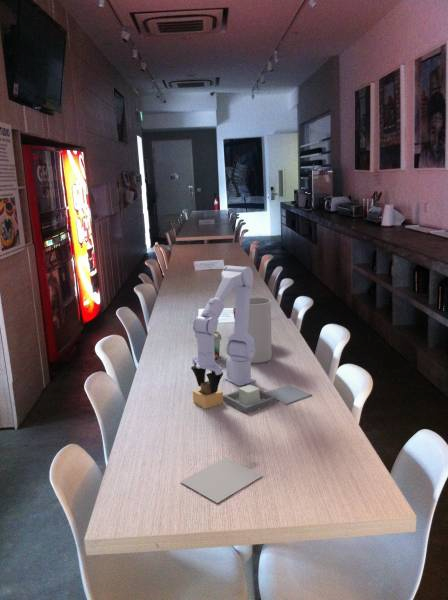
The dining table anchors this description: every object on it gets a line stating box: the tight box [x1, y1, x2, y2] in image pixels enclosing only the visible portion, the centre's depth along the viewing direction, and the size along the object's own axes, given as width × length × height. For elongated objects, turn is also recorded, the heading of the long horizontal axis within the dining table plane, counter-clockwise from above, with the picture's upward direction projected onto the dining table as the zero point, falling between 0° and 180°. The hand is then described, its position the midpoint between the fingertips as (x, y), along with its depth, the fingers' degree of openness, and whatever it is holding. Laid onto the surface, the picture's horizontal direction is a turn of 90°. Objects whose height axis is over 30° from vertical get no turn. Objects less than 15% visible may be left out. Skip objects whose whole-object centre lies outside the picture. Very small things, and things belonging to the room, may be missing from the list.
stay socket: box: [192, 388, 224, 409], centre depth 193 cm, size 7×7×4 cm
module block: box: [238, 384, 261, 406], centre depth 193 cm, size 5×5×5 cm
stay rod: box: [200, 380, 215, 395], centre depth 193 cm, size 3×3×7 cm
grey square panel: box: [179, 457, 264, 504], centre depth 152 cm, size 23×25×1 cm
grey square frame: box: [223, 389, 277, 414], centre depth 193 cm, size 13×13×2 cm
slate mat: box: [265, 384, 312, 405], centre depth 198 cm, size 12×12×1 cm
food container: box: [214, 330, 223, 360], centre depth 240 cm, size 12×6×10 cm, turn 22°
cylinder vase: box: [248, 296, 273, 364], centre depth 232 cm, size 12×12×25 cm
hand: (207, 388), depth 193 cm, fingers open, 7 cm apart
